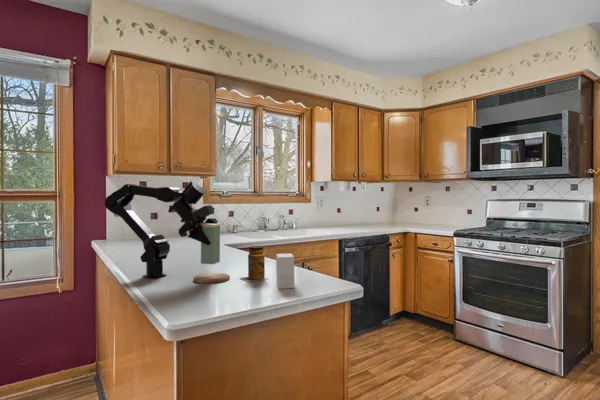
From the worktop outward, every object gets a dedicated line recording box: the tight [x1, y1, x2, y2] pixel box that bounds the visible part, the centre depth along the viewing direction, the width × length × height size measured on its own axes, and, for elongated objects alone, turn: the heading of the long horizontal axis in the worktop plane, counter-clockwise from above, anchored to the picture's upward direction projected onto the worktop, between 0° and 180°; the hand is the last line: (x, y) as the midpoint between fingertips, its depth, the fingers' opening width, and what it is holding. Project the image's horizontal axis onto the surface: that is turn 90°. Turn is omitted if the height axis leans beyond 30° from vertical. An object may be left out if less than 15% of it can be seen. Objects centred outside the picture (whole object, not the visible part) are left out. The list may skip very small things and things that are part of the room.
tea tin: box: [200, 223, 221, 265], centre depth 132 cm, size 5×5×14 cm
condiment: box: [240, 245, 269, 283], centre depth 133 cm, size 7×8×12 cm
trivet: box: [193, 272, 231, 285], centre depth 133 cm, size 13×13×1 cm
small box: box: [275, 253, 296, 290], centre depth 122 cm, size 8×6×10 cm
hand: (213, 243), depth 131 cm, fingers closed on tea tin, 5 cm apart
